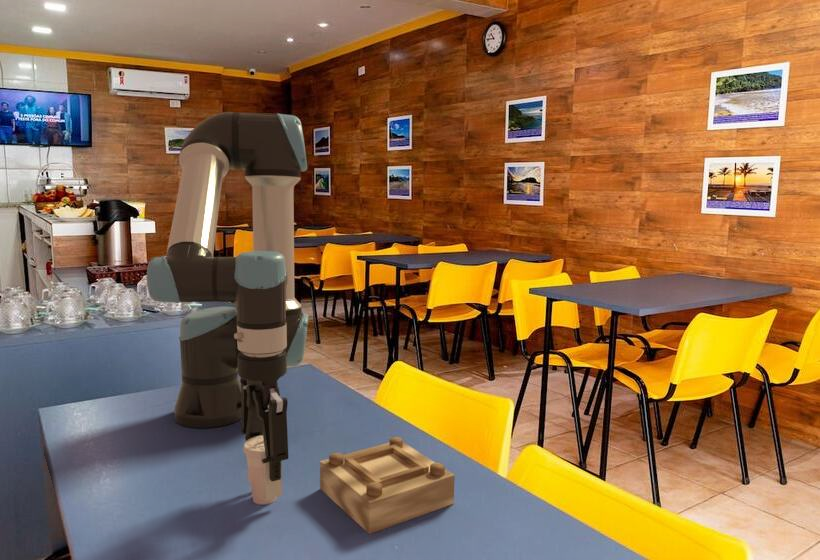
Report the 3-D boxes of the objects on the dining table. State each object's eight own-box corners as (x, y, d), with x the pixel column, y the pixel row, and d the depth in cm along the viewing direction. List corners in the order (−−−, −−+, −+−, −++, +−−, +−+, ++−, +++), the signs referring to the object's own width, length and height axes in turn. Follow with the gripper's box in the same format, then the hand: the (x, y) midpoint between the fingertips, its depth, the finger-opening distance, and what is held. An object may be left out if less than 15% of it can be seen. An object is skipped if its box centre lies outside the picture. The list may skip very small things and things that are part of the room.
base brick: (320, 488, 105) (320, 454, 104) (398, 465, 114) (399, 433, 113) (369, 534, 92) (370, 495, 91) (453, 503, 101) (454, 467, 100)
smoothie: (293, 495, 103) (292, 415, 100) (265, 513, 97) (264, 428, 95) (264, 485, 106) (262, 407, 104) (236, 501, 101) (233, 419, 98)
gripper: (218, 339, 103) (222, 470, 107) (262, 370, 88) (265, 521, 91) (261, 334, 107) (263, 459, 111) (311, 362, 92) (311, 507, 96)
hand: (264, 487), depth 101 cm, fingers closed on smoothie, 6 cm apart
